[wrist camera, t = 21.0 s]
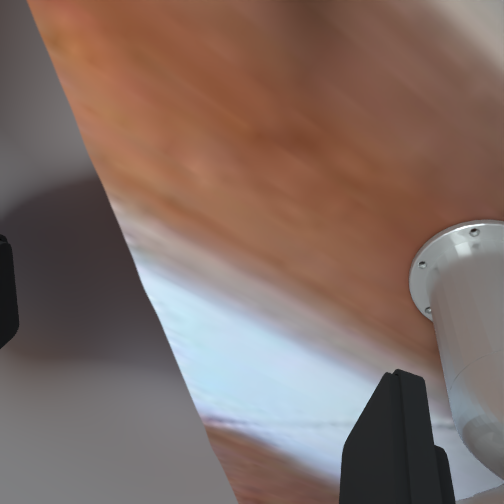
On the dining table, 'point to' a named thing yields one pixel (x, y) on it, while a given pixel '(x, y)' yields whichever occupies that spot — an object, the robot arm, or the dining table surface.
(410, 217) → the dining table surface
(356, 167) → the dining table surface
